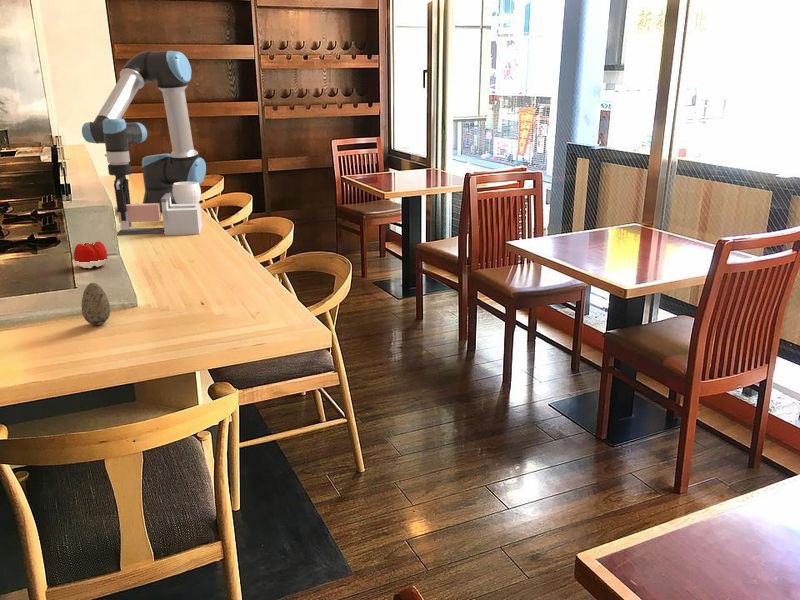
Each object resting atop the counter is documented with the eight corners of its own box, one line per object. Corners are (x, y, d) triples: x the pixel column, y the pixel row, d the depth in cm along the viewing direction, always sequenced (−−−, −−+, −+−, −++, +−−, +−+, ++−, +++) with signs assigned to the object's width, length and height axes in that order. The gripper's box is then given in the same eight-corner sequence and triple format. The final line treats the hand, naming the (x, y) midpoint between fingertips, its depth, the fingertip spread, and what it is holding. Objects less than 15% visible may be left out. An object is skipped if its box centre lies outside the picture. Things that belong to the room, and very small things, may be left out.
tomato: (69, 269, 201) (66, 245, 199) (92, 262, 209) (88, 238, 207) (94, 272, 198) (91, 247, 196) (116, 265, 206) (113, 241, 204)
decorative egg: (84, 330, 152) (77, 288, 149) (84, 322, 158) (78, 281, 155) (112, 326, 155) (106, 285, 152) (111, 318, 160) (106, 278, 157)
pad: (121, 230, 253) (121, 228, 252) (166, 228, 255) (166, 227, 255) (117, 235, 245) (117, 233, 245) (163, 233, 248) (163, 231, 248)
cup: (207, 218, 274) (204, 181, 270) (197, 224, 264) (193, 185, 259) (182, 218, 275) (178, 181, 271) (171, 223, 265) (167, 185, 260)
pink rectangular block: (121, 220, 248) (119, 204, 247) (161, 219, 251) (159, 203, 249) (119, 222, 245) (117, 206, 243) (159, 221, 247) (157, 204, 245)
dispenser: (169, 227, 257) (166, 193, 253) (202, 226, 259) (199, 192, 255) (164, 235, 245) (160, 199, 241) (199, 234, 247) (195, 198, 243)
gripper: (112, 160, 248) (120, 223, 255) (102, 166, 232) (110, 233, 239) (134, 160, 249) (141, 223, 256) (125, 166, 233) (133, 232, 240)
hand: (126, 227), depth 248 cm, fingers closed on pink rectangular block, 4 cm apart
